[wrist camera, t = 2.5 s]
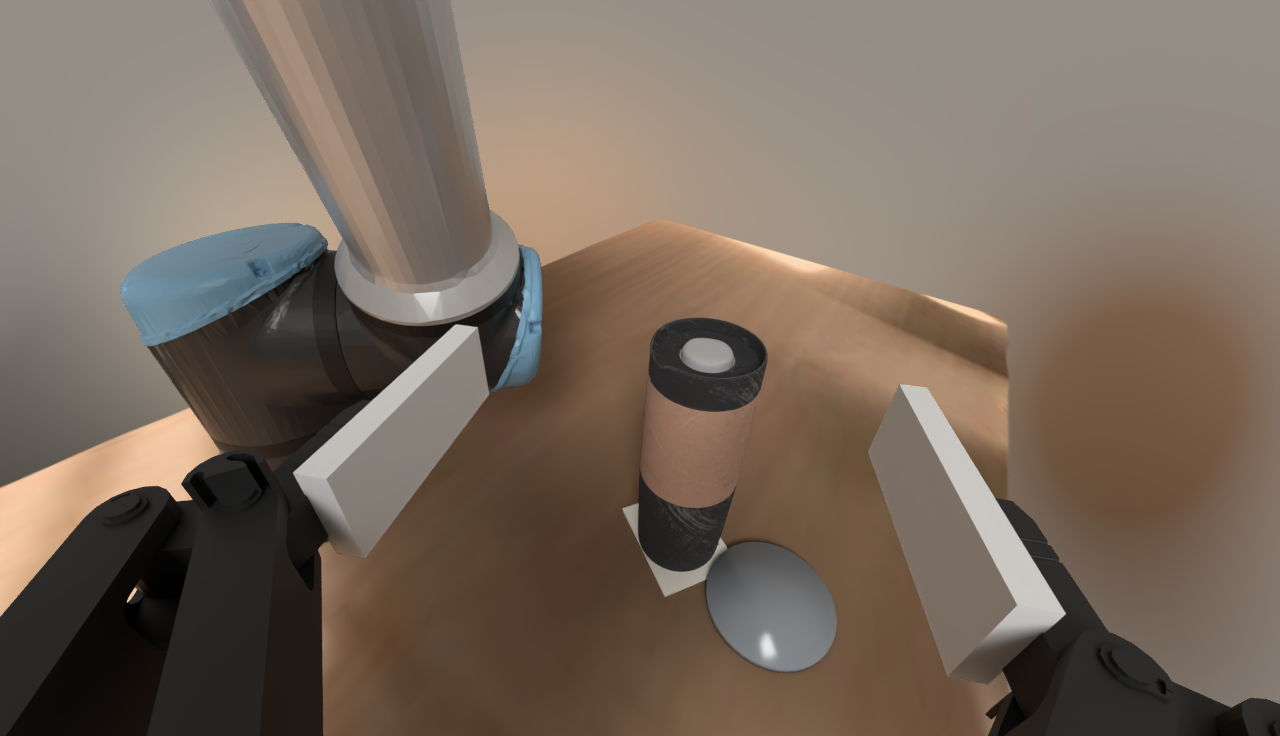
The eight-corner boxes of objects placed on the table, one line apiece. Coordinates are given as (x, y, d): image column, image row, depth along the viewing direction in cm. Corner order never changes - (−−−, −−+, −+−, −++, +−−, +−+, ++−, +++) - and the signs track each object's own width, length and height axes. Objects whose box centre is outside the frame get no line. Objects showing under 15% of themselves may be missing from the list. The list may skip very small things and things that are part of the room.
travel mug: (730, 519, 42) (780, 333, 30) (705, 591, 36) (755, 395, 25) (654, 489, 44) (674, 306, 33) (619, 552, 38) (629, 357, 27)
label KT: (622, 509, 42) (622, 508, 42) (687, 488, 45) (687, 486, 45) (664, 597, 36) (664, 595, 35) (738, 566, 38) (738, 565, 38)
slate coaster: (683, 569, 38) (684, 565, 37) (779, 531, 41) (780, 527, 41) (754, 699, 30) (755, 695, 30) (862, 638, 34) (865, 634, 33)
